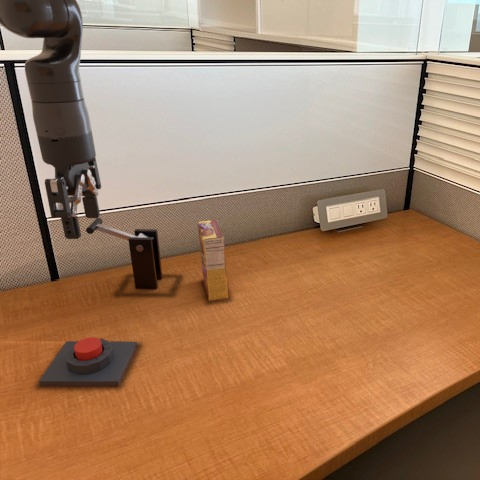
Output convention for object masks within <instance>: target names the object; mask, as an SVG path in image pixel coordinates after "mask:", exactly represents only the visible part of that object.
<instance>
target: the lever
mask: <svg viewBox="0 0 480 480" xmlns="http://www.w3.org/2000/svg"><path fill="white" fill-rule="evenodd" d="M96 231H99V232H101V233H104V234H108V235H110V236H114V237H117V238H120V239H123V240H125V241H128V239H129V238H130V237H144V238H152V241H153V237H151V236H148V235H145V234H142V233H140V234H139V235H138V236H135V234H131V233H129V232H126V231H123V230H119V229H117V228H113V227H110V226H109V225H104V224H103V219H102V218H101V217H98V218H94V220H93V221H92V222H91V223H90V224H89V225H88V226H87V227H86V228H85V232H86V233H87V234H88V235H93V234H94V233H95V232H96Z"/></svg>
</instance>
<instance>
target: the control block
mask: <svg viewBox="0 0 480 480" xmlns="http://www.w3.org/2000/svg"><path fill="white" fill-rule="evenodd" d="M99 339H100V340H101V344H102V350H103V352H102V354H101V355H100V356H98V357H97V358H94V359H91V360H88V361H80V360H78V359H77V358H76V355H75V350H74V346H75V344H76V343H77V342H79V341H80V340H79V341H78V340H77V341H75V340H73V341H72V340H69V341H68V340H67V341H65V342H64V344H63V346H62V348H61V349H60V350H59V352H58V353H57V354H56V356H55V357H54V359H53V360H52V362H51V363H50V364H49V366H48V367H47V368H46V370H45V372H44V373H43V374H42V376H41V378H40V379H39V380H38V384H39V387H120V385H121V382H122V381H123V378H124V376H125V374H126V373H127V370H128V369H129V366H130V364H131V361H132V360H133V357H134V355H135V354H136V351H137V350H138V342H137V341H109V340H107V339H105V338H99Z"/></svg>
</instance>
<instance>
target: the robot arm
mask: <svg viewBox="0 0 480 480" xmlns="http://www.w3.org/2000/svg"><path fill="white" fill-rule="evenodd" d="M83 22H84V21H83V15H82V10H81V7H80V5H79V3H78V1H77V0H0V26H1V27H3V28H4V29H5V30H7V31H8V32H10V33H12V34H13V35H16V36H19V37H21V38H25V39H43V40H42V41H43V42H42V48H41V52H40V53H39V54H37V55H35V56H32V57H30V58H28V59H27V60H26V61H25V63H24V74H25V79H26V84H27V88H28V93H29V97H30V100H31V101H30V102H31V108H32V111H31V112H32V119H33V125H34V128H35V132H36V137H37V141H38V145H39V151H40V155H41V159H42V162H44V163H45V164H46V165H50V166H52V167H53V168H54V178H45V179H44V187H45V193H46V197H47V203H48V207H49V212H50V216H51V218H52V219H60V220H61V225H62V230H63V234H64V238H65V239H67V240H78V239H80V238H81V236H82V232H81V227H80V222H79V217H78V215H77V213H78V205H79V204H81V202H82V205H83V211H84V215H85V218H87V219H96V218H100V216H101V213H100V207H99V202H98V196H99V190H101V189H102V183H101V177H100V173H99V172H100V171H99V168H98V163H97V159H96V157H97V154H96V148H95V142H94V136H93V131H92V126H91V120H90V119H91V118H90V114H89V110H88V107H87V104H86V100H85V95H84V91H83V85H82V78H81V75H80V65H81V64H80V63H81V58H82V57H81V56H82V44H83V43H82V42H83V41H82V40H83V30H84V23H83Z"/></svg>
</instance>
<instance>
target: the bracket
mask: <svg viewBox="0 0 480 480" xmlns="http://www.w3.org/2000/svg"><path fill="white" fill-rule="evenodd" d="M133 232H134V235H135V236H138V235H139V234H140V233H142V234H145V235H148V236H151V237H153V241H152V238H144V237H130V238H129V239H128V240H127V242H128V247H129V253H130V254H129V255H130V261H131V268H132V269H131V270H132V275H133V281H134V288H135V290H157V289H158V288H159V287H158V286H159V285H158V281H159V280H160V281H161V280H163V268H162V260H161V259H162V258H161V251H160V243H159V234H158V228H157V229H155V228H154V229H153V228H135V229H134V231H133Z"/></svg>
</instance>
